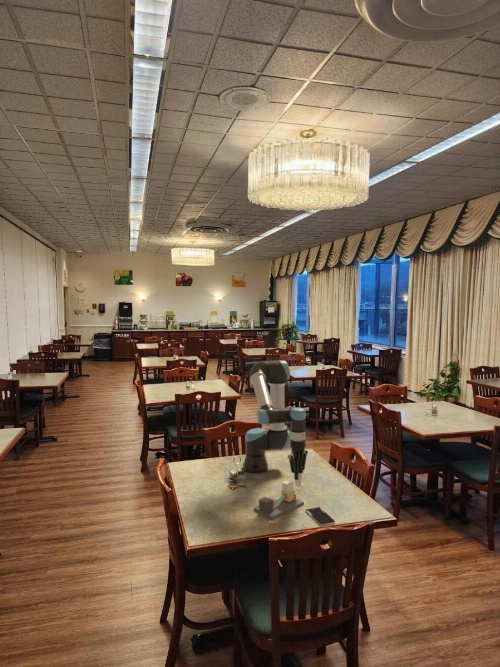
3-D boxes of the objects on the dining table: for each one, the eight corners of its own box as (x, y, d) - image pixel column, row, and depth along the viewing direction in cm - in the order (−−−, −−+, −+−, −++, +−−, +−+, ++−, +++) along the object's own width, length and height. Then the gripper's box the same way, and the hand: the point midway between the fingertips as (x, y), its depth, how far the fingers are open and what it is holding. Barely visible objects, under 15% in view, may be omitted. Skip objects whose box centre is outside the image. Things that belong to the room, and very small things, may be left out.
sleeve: (281, 499, 202) (281, 482, 202) (287, 496, 205) (287, 479, 204) (288, 502, 199) (288, 484, 198) (294, 499, 201) (294, 482, 201)
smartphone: (320, 524, 180) (304, 508, 194) (320, 527, 180) (304, 511, 194) (335, 521, 182) (319, 506, 197) (335, 524, 182) (319, 509, 197)
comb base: (254, 510, 195) (254, 497, 195) (285, 496, 210) (285, 483, 209) (271, 519, 186) (271, 505, 186) (303, 504, 201) (303, 491, 200)
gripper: (294, 443, 198) (294, 491, 199) (312, 438, 207) (312, 484, 208) (283, 440, 204) (283, 486, 205) (300, 435, 212) (300, 479, 214)
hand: (297, 485), depth 206 cm, fingers closed
